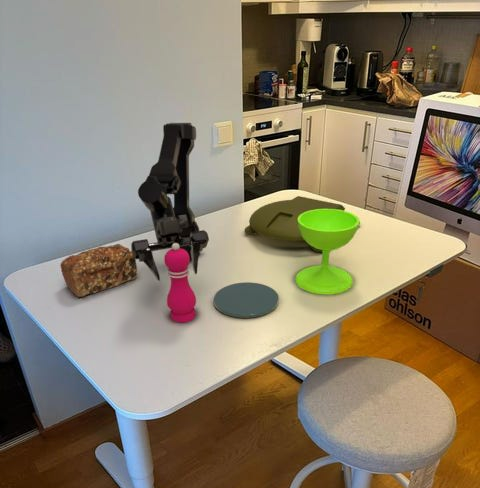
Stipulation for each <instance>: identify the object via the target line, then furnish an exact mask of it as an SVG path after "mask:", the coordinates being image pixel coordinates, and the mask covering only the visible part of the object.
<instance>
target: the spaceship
mask: <svg viewBox="0 0 480 488" xmlns="http://www.w3.org/2000/svg"><path fill="white" fill-rule="evenodd" d="M316 209H337V210H343V211H346V207H345V206H344V205H342V204H340V203H335V202H332V201H331V202H330V201H325V200H320V199H315V198H311V197H307V196H306V197H305V196H300V195H298V196H295V197H294V198H292V199H283V200H278V201H274V202H270V203H267V204H265V205H263V206H260V207H259V208H257V209H256V210H254V212H253V213H252V214H251V215H250V216H249V220H248V223H249V225H247V226H245V228H244V233H245V234H247V235H251V236H252V235H256V234H260V235H262V236H264V237H267V238H271V239H275V240H282V241H297V242H298V241H305V239H304V238H303V237H302V235H301V233H300V230H299V228H298V217H299V216H300V215H301V214H302V213H304V212H307V211H310V210H316ZM360 224H361V221H360V220H359V225H360ZM310 246H311V245H310ZM311 250H312V251H313V252H316V253H322V251H323V250H320V249H317V248H315V247H313V246H311Z"/></svg>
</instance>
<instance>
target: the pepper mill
mask: <svg viewBox="0 0 480 488" xmlns="http://www.w3.org/2000/svg"><path fill="white" fill-rule="evenodd" d="M179 247H180V246H179V244H177V243H174V244H173V245H172V248H169V249H168V250H167V252H166V253H165V254H164V258H163V261H164V262H163V263H164V265H165V267H167V275H168V276H169V278H170V287H169V291H168V293H167V297H166V306H167V308H168V309H169V312H170V313H169V314H170V319H171V320H172V321H173V322H175V323H181V324H184V323H188V322H191V321H193V320H194V319H195V318H196V315H197V314H196V305H197V297H196V294H195V292H194V290H193V289H192V287H191V285H190V282H189V279H188V275H189V274H190V271H189V265H190V262H191V261H190V257H189V254H188V252H187V251H186V250H184V249H182V248H179Z"/></svg>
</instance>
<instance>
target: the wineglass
mask: <svg viewBox="0 0 480 488" xmlns="http://www.w3.org/2000/svg"><path fill="white" fill-rule="evenodd" d="M359 221H360V218H359V217H358V215H356V214H354V213H352V212H350V211H347V210H344V211H343V210H337V209H316V210H310V211H307V212H304V213H302V214H301V215H300V216H299V217H298V228H299V230H300V233H301V235H302V237H303V238H304V239H305V240H304V241H305V242H306V243H307V244H308V245H310V246H313V247H315V248H317V249H320V250H323V251H322V252H321V253H322V254H321V265H320V264H319V265H312V266H308V267H306V268H303V269H302V270H300V271H299V272H298V273H297V274H296V276H295V283H296V285H297V286H298V288H300V289H302V290H304V291H306V292H309V293H311V294H317V295H325V296H326V295H329V296H330V295H337V294H341V293H345V292H346V291H348V290H349V289H351V288H352V286H353V284H354V281H353V277H352V275H351V274H350V273H349V272H347V271H346V270H344V269H342V268H340V267H338V266H332V265H330V251H336V250H339V249H340V248H342V247H344V246H346V245H348V244H349V243H350V242H351V241H352V240H353V238H354V237H355V235H356V234H357V231H358V230H359V225H360V224H359Z"/></svg>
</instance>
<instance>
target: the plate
mask: <svg viewBox="0 0 480 488" xmlns="http://www.w3.org/2000/svg"><path fill="white" fill-rule="evenodd" d="M279 300H280V299H279V294H278V293H277V291H276V290H275V289H273V288H272V287H270V286H268V285H266V284H263V283H259V282H249V281H246V282H236V283H232V284H228V285H226V286H224V287H222V288H220V289H219V290H218V291H217V292H216V293H215V294H214V297H213V304H214V306H215V308H216V309H217V311H219V312H220V313H222V314H224V315H226V316H229V317H235V318H241V319H245V318H246V319H249V318H258V317H261V316H264V315H267V314H269V313H271V312H272V311H273V310H275V309H276V307H278V305H279V302H280V301H279Z"/></svg>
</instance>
